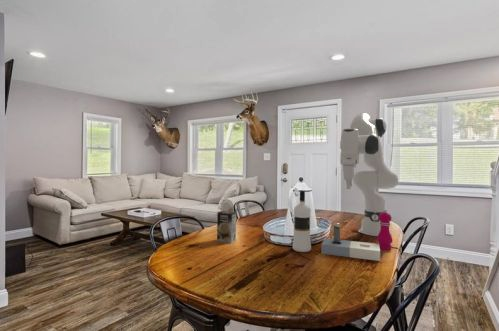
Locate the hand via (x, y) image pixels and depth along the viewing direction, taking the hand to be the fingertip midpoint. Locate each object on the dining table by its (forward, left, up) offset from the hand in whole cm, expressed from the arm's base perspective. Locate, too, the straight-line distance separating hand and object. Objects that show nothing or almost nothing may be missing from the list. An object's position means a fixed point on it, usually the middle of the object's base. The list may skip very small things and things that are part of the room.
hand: (349, 187), depth 145 cm
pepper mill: (-10, +17, -32) cm, 38 cm away
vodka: (+10, -22, -32) cm, 40 cm away
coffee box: (+11, -64, -32) cm, 72 cm away
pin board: (+6, +1, -32) cm, 32 cm away
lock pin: (+6, -5, -32) cm, 33 cm away
